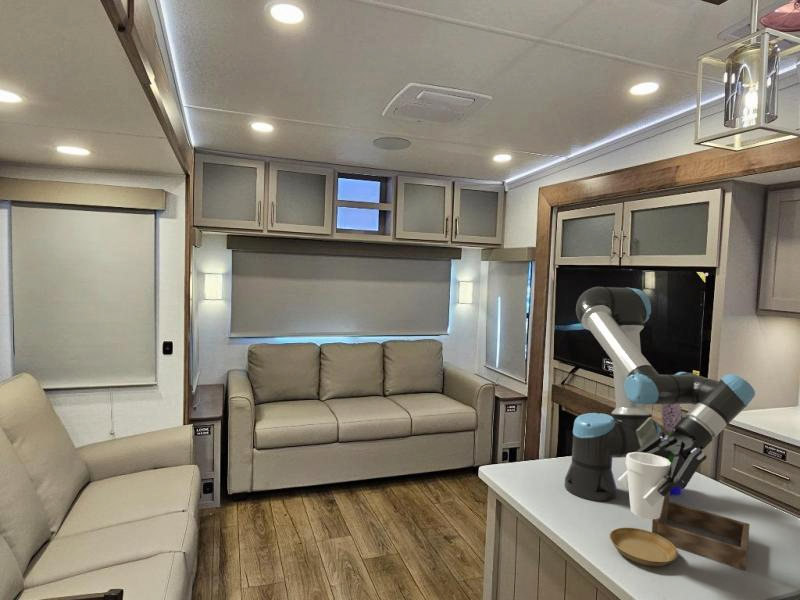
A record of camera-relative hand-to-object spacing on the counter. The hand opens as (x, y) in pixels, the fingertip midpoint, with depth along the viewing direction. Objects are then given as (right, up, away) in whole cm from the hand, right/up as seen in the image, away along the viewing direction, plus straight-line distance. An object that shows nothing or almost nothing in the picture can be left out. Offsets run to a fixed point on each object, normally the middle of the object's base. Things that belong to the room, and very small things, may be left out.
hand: (634, 492), depth 113 cm
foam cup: (+3, -5, +1) cm, 6 cm away
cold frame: (+19, -16, +10) cm, 27 cm away
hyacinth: (+31, -15, +37) cm, 51 cm away
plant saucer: (+3, -16, +2) cm, 16 cm away
